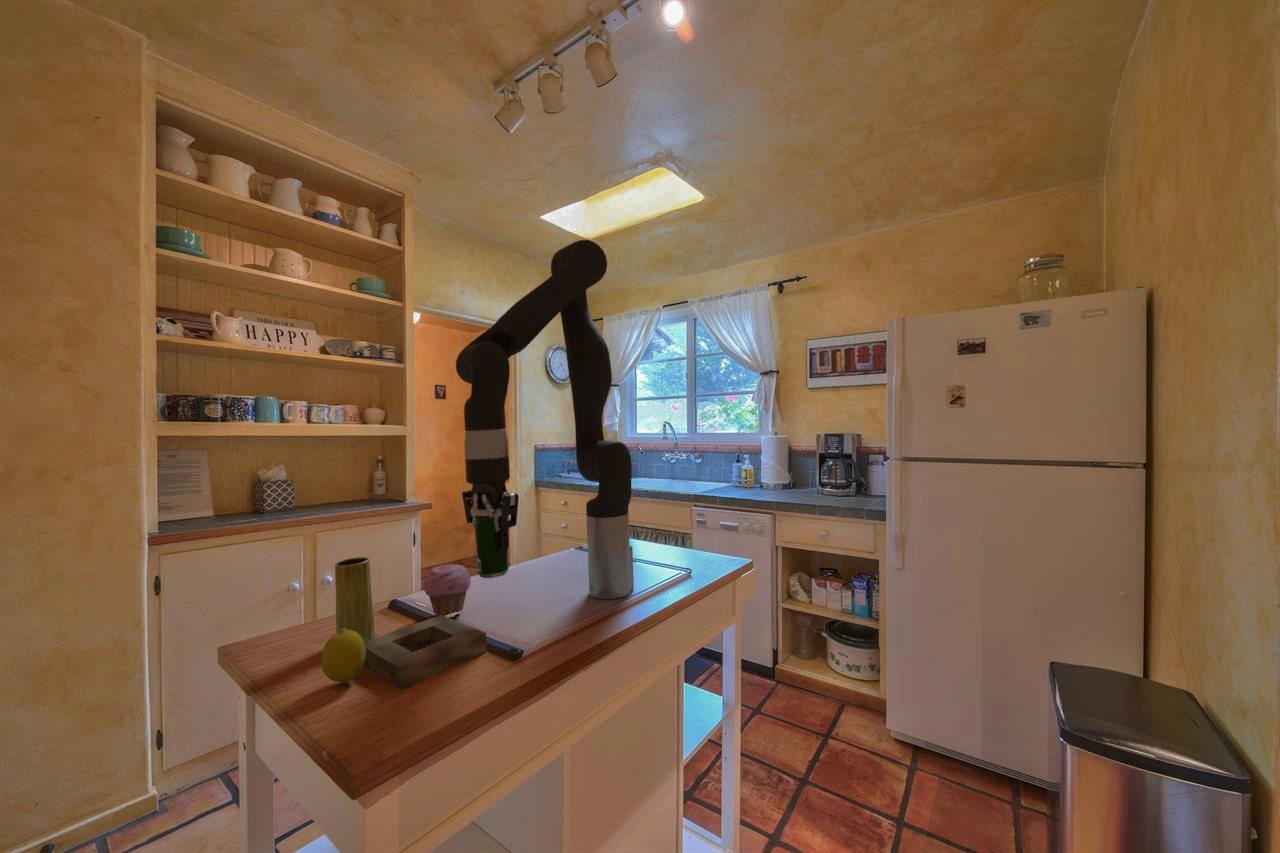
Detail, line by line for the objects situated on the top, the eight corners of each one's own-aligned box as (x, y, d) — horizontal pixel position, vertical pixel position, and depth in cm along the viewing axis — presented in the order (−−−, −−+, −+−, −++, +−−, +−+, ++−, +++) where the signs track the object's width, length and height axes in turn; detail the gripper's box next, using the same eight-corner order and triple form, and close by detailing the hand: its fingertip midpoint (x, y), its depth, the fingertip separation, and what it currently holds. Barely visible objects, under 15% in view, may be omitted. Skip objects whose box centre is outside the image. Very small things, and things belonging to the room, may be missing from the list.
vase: (337, 653, 81) (334, 568, 81) (332, 641, 86) (329, 561, 85) (378, 642, 85) (375, 560, 85) (371, 631, 89) (368, 554, 89)
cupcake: (420, 614, 97) (418, 564, 97) (464, 603, 102) (462, 556, 102) (431, 628, 90) (429, 574, 90) (477, 616, 95) (476, 565, 95)
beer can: (486, 580, 83) (482, 511, 83) (472, 574, 87) (468, 508, 87) (514, 572, 87) (510, 506, 87) (500, 567, 91) (496, 503, 90)
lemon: (349, 671, 75) (347, 619, 75) (375, 676, 73) (373, 623, 73) (313, 690, 69) (311, 634, 69) (340, 696, 67) (338, 639, 67)
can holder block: (441, 631, 88) (440, 614, 88) (486, 651, 80) (486, 632, 80) (359, 662, 77) (358, 644, 77) (401, 689, 69) (401, 668, 69)
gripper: (529, 453, 85) (534, 549, 85) (481, 453, 94) (486, 539, 94) (493, 457, 79) (498, 560, 79) (446, 456, 88) (451, 549, 88)
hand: (492, 548), depth 87 cm, fingers closed on beer can, 5 cm apart
